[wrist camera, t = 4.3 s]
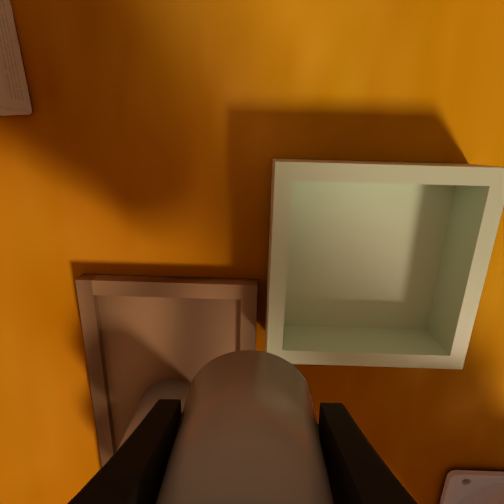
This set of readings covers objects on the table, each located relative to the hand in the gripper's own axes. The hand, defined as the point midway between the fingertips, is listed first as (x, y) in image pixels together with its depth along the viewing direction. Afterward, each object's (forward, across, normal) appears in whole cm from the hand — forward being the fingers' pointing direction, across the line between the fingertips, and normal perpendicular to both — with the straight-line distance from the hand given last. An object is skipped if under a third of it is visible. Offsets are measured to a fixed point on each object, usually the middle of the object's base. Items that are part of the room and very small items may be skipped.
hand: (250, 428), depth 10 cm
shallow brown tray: (+8, +4, +7) cm, 12 cm away
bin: (+8, -5, -3) cm, 10 cm away
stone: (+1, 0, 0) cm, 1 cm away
